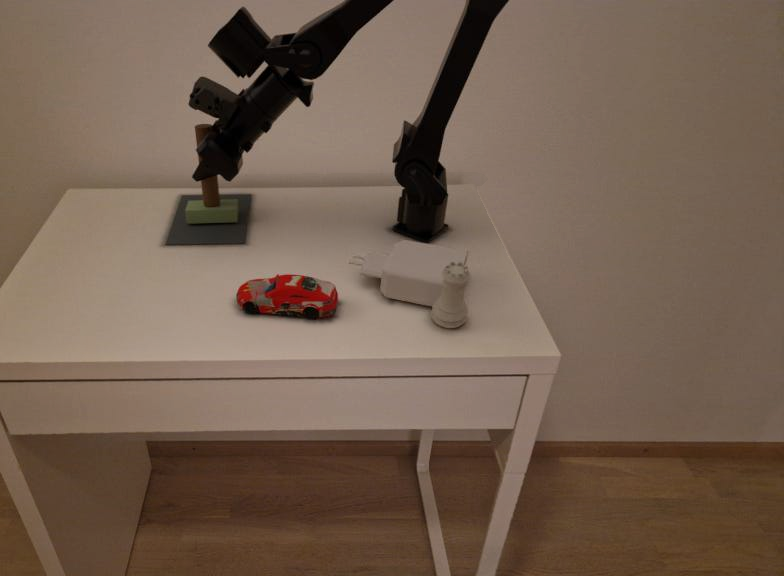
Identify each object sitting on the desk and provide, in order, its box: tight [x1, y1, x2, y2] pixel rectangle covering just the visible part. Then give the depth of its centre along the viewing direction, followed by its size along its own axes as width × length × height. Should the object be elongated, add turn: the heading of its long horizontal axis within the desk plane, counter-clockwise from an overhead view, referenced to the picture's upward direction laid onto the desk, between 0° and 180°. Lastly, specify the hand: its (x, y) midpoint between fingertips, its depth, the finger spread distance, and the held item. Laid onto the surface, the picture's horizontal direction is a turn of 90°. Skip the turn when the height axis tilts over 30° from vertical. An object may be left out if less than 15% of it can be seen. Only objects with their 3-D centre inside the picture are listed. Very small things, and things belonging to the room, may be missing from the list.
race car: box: [236, 273, 339, 320], centre depth 76 cm, size 13×5×4 cm, turn 80°
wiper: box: [185, 123, 239, 224], centre depth 91 cm, size 8×4×14 cm, turn 93°
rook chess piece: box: [430, 261, 471, 329], centre depth 71 cm, size 4×4×8 cm
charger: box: [348, 239, 469, 307], centre depth 79 cm, size 5×9×15 cm
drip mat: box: [164, 193, 252, 246], centre depth 96 cm, size 17×12×1 cm
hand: (196, 175), depth 92 cm, fingers closed on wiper, 2 cm apart
